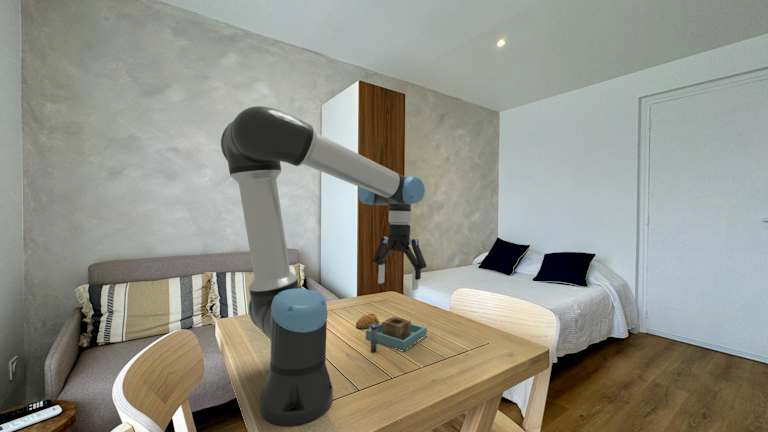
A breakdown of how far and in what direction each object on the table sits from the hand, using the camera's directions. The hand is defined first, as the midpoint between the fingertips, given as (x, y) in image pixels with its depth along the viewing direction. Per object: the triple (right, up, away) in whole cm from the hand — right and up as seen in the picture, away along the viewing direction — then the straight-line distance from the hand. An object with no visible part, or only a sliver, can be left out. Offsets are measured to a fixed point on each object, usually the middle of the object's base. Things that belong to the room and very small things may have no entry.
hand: (397, 286), depth 100 cm
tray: (0, -18, 0) cm, 18 cm away
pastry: (-11, -18, +11) cm, 24 cm away
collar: (0, -17, 0) cm, 17 cm away
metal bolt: (-8, -17, -11) cm, 22 cm away
